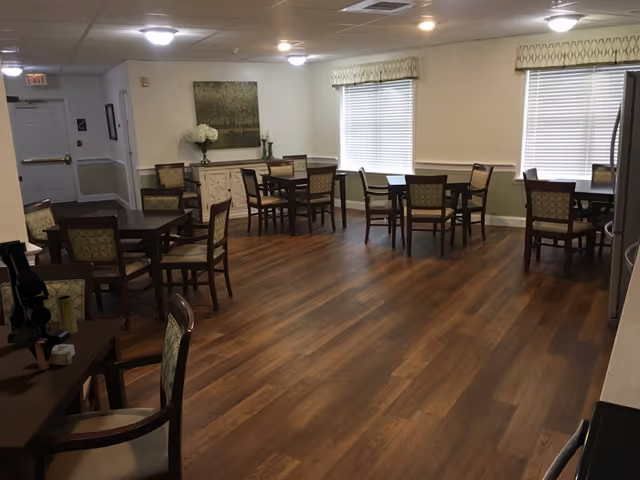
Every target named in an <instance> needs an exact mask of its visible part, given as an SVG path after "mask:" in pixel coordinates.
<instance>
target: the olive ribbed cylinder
mask: <svg viewBox="0 0 640 480" xmlns="http://www.w3.org/2000/svg"><path fill="white" fill-rule="evenodd" d="M55 300H56V304H57V311H58V312H57V313H58V318H59V328H60V329H59V330H67V331H69V333H70V335H74V334H77V332H78V331H79V330H78V325H77V321H76V315H75V310H74V309H75V308H74V306H73V305H74V304H73V299H72V295H69V294H66V295H61V296H58V297H56V299H55Z"/></svg>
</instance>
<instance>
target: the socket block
mask: <svg viewBox="0 0 640 480" xmlns="http://www.w3.org/2000/svg"><path fill="white" fill-rule="evenodd" d="M52 351H71V357H72V358H73V356H75V355H76V351H75V345H74V344H64V343H62V344H60V345H54V347H53V350H52Z"/></svg>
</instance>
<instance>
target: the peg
mask: <svg viewBox="0 0 640 480" xmlns="http://www.w3.org/2000/svg"><path fill="white" fill-rule="evenodd" d="M43 343H44V340H40V341H38V342H36V343H35V349H36V354H37V360H38V364H37V366H38V369H39V371H45V370H47V369H49V368H50V364H49V362H48V361H46V360H45V356H44V351H43V348H42V347H41V346H40V345H41V344H43Z"/></svg>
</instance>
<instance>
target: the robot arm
mask: <svg viewBox="0 0 640 480" xmlns="http://www.w3.org/2000/svg"><path fill="white" fill-rule="evenodd" d="M26 244H27V243H26V241H21V240H19V239H18V240H17V239H16V240H10V241H3V242H0V260H1V262H2V263H3V264H4V265H5V266H6V269H7V275H8V281H9V286H10V287H9V288H10V293H11V298H12V304H11V307H10V308H9V311H8V312H9V316H8V318H7V319H8V324H7V325H8V328H9V330H10V333H8V335H7V337H6V340H7V343H8V344H12V347H15V348H27V349H28V350H29V352H30V353H31V355H32V357H34V359H35V361H36V360H37V354H36V349H35V343H36V342H38V341H41V340H43V341H44V343H43V344H41V345H40V346H41V347H42V348H43V351H44V356H45V360H46V361H49V359H50V356H51V353H52V350H53V347H55V346H56V345H60V344H64V343H65V342H67V341H68V340H70V338H71V334H70V333H69V331H67V330H61V329H57V330H56V331H54V332H51V329H52V328H51V327H48V323H50V321H51V319H52V311H51V310H50V309H49V307H47V306H46V305H45V302H44V301H48V300H49V299H50V298H49V295H50V293H49V290H48V287H47V284H46V282H45V281H44V280H43V279H41V278H40V277H41V276H40V275H39V274H38V273H37V272H35V271H33V270H32V268H31V264H30V262H29V260H28V258H27V256H26V255H27V254H26V253H28V249H27V245H26ZM49 332H51V333H49ZM37 361H38V360H37Z"/></svg>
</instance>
